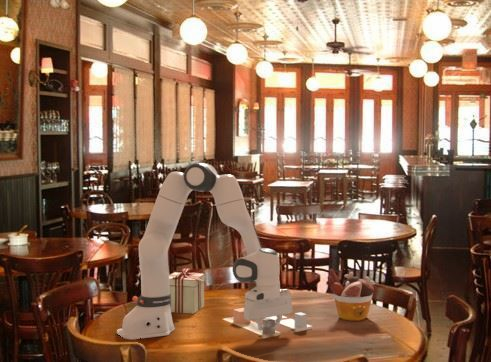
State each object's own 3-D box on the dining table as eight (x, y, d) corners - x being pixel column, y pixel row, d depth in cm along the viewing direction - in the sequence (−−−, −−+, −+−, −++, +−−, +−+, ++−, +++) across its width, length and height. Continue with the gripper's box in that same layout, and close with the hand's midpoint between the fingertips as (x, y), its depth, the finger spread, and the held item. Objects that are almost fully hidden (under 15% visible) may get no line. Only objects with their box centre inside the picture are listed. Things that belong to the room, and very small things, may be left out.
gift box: (204, 314, 287) (203, 274, 286) (162, 313, 290) (161, 274, 289) (212, 304, 304) (211, 267, 303) (172, 304, 307) (171, 266, 306)
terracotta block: (240, 324, 265) (239, 312, 265) (233, 321, 269) (233, 309, 269) (250, 322, 268) (250, 310, 267) (243, 319, 272) (243, 307, 272)
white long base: (263, 338, 249) (262, 322, 248) (222, 321, 274) (221, 306, 274) (280, 334, 253) (280, 319, 253) (238, 318, 278) (238, 304, 278)
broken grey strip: (295, 332, 257) (295, 316, 256) (252, 316, 282) (252, 301, 282) (312, 329, 261) (311, 313, 261) (268, 313, 286) (268, 298, 286)
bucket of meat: (380, 315, 281) (379, 267, 280) (371, 325, 266) (370, 275, 265) (333, 310, 289) (333, 265, 288) (322, 320, 274) (322, 272, 273)
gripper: (285, 286, 260) (286, 322, 261) (241, 294, 249) (241, 330, 250) (295, 289, 255) (296, 325, 255) (250, 297, 244) (251, 334, 244)
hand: (268, 328), depth 252 cm, fingers open, 6 cm apart
